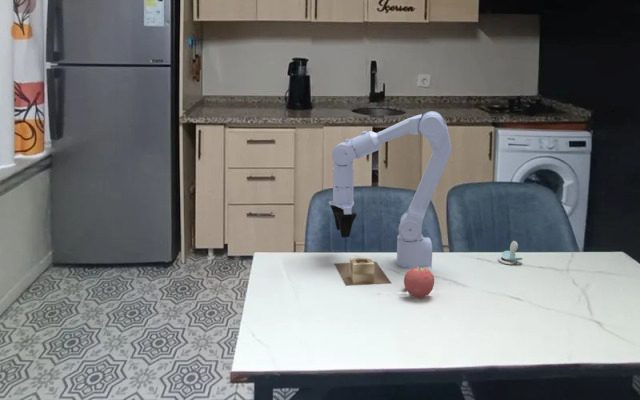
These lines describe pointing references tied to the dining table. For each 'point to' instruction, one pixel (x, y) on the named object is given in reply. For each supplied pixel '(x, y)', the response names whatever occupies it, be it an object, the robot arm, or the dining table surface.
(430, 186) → the robot arm
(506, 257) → the pacifier
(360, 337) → the dining table surface
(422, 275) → the apple
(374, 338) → the dining table surface
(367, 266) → the open-ended tan box
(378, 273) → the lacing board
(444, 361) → the dining table surface
